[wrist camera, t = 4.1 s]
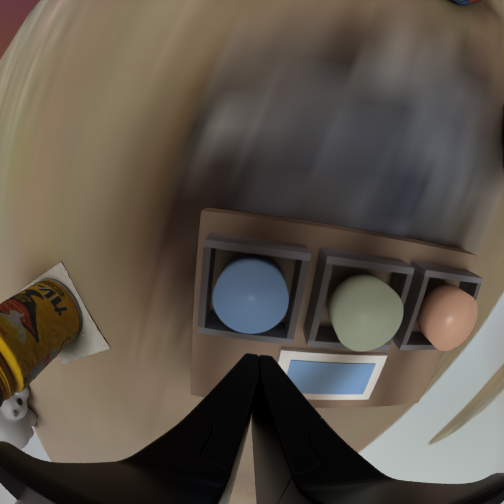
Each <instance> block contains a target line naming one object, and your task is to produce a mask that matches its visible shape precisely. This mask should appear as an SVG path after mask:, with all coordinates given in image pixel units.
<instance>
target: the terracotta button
mask: <svg viewBox="0 0 504 504" xmlns="http://www.w3.org/2000/svg"><path fill="white" fill-rule="evenodd" d="M477 315H478V307H477V303H476V301H475V299H474V298H473V297H472V296H470V295H469V294H467V293H466V292H464V291H463V290H461V289H460V288H458V287H457V286H455V285H453V284H443V285H440V286H438V287H436V288H435V289H434V290H432V291H431V292H430V293H429V294H428V295H427V297H426V298H425V300H424V301H423V303H422V305H421V307H420V310H419V313H418V327H419V329H420V331H421V332H422V333H423V334H424V335H425V337H426V338H427V339H428V340H429V341H430V342H431V343H432V344H433V345H434V347H435V348H437V349H438V350H441V351H448V350H451V349H454V348H456V347H457V346H459V345H460V344H461V343H462V342H463V341H464V340H465V339H466V338H467V337H468V336H469V334H470V333H471V331H472V329H473V328H474V325H475V323H476V320H477Z"/></svg>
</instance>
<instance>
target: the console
mask: <svg viewBox="0 0 504 504" xmlns="http://www.w3.org/2000/svg"><path fill="white" fill-rule="evenodd" d="M247 254H256V255H261V256H264V257H267V258H269V259H270V260H272V261H273V262H274V263H276V264H277V265H278V267H279V268H280V269H281V271H282V273H283V275H284V278H285V281H286V286H287V290H288V296H289V303H288V308H287V311H286V314H285V315H284V317H283V319H282V320H281V321H280V322H279V323H278V324H277V325H276V326H274V327H273V328H271V329H269V330H267V331H265V332H261V333H256V334H247V333H241V332H238V331H235V330H233V329H231V328H230V327H228V326H227V325H225V324H224V323H223V322H222V321H221V320H220V318H219V317H218V315H217V314H216V312H215V309H214V306H213V291H214V288H215V285H216V283H217V280H218V278H219V276H220V273H221V271H222V270H223V268H224V267H225V266H226V265H227V264H228V263H229V262H230V261H231V260H233V259H234V258H236V257H239V256H242V255H247ZM476 257H477V255H475V254H472V253H470V252H468V251H466V250H463V249H460V248H455V247H450V246H446V245H441V244H436V243H431V242H426V241H421V240H416V239H411V238H405V237H400V236H395V235H389V234H384V233H378V232H373V231H367V230H361V229H356V228H350V227H344V226H338V225H331V224H325V223H319V222H312V221H306V220H299V219H292V218H286V217H279V216H271V215H264V214H257V213H249V212H242V211H234V210H226V209H218V208H209V207H207V208H205V209H203V210H202V211H201V217H200V227H199V238H198V250H197V262H196V276H195V291H194V308H193V328H192V354H191V395H196V396H202V397H206V396H207V395H208V394H209V392H210V391H211V390H212V389H213V388H214V387H215V386H216V385H217V384H218V383H219V382H220V381H221V380H222V379H223V378H224V376H225V375H226V374H227V373H228V372H229V371H230V370H231V369H232V368H233V367H234V365H235V364H236V363H237V362H238V361H239V360H240V359H241V358H242V357H243V355H244V354H245V353H251V354H257V355H258V356H259V355H269V356H272V357H273V358H274V359H275V360H276V362H277V363H278V364H279V365H280V367H281V368H282V369H283V370H284V372H285V373H286V374H287V375H288V377H289V378H290V379H291V380H292V382H293V383H294V384H295V385H296V387H297V388H298V389H299V390H300V391H301V393H302V394H303V395H304V396H305V398H306V399H307V400H308V401H309V402H310V404H311V405H312V406H313V407H314V408H355V407H377V406H391V405H402V404H412V403H418V402H419V400H420V398H421V396H422V395H423V393H424V391H425V389H426V387H427V385H428V383H429V381H430V379H431V378H432V376H433V374H434V372H435V370H436V367H437V365H438V363H439V361H440V359H441V357H442V355H443V352H444V351H441V350H438V349H437V348H435V347H434V345H433V344H432V343H431V342H430V341H429V340H428V339H427V338H426V337H425V335H424V334H423V333H422V332H421V331H420V329H419V327H418V313H419V310H420V307H421V305H422V303H423V301H424V300H425V298H426V297H427V295H428V294H429V293H430V292H431V291H432V290H434V289H435V288H436V287H438V286H440V285H443V284H453V285H455V286H457V287H458V288H460V289H461V290H463V291H464V292H466V293H467V294H469V295H470V296H472V297H473V298H474V299H475V301H476V298H477V295H478V292H479V289H480V286H481V282H482V279H483V278H481V277H479V276H478V275H476V274H474V273H472V272H473V268H474V265H475V261H476ZM361 273H369V274H373V275H376V276H378V277H379V278H381V279H382V280H383V281H384V282H385V283H386V284H387V285H388V286H390V287H391V288H392V289H393V290H394V291H395V292H396V293H397V294H398V295H399V297H400V299H401V301H402V304H403V318H402V322H401V324H400V327H399V329H398V330H397V332H396V333H395V335H394V336H393V337H392V338H391V339H390V340H389V341H388V342H386V343H385V344H384V345H382V346H380V347H378V348H376V349H373V350H370V351H354V350H351V349H349V348H347V347H346V346H344V345H343V344H342V343H341V342H340V340H339V338H338V336H337V334H336V332H335V329H334V327H333V325H332V323H331V321H330V318H329V315H328V304H329V300H330V297H331V295H332V293H333V291H334V290H335V289H336V287H337V286H338V285H339V284H340V283H341V282H342V281H344V280H345V279H347V278H348V277H350V276H353V275H356V274H361ZM457 347H458V346H457ZM457 347H456V348H454V349H457Z"/></svg>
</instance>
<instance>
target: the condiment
mask: <svg viewBox="0 0 504 504" xmlns="http://www.w3.org/2000/svg"><path fill="white" fill-rule="evenodd" d="M82 330H84V332H83V331H82ZM83 333H84V336H83ZM108 349H110V347H109V345H108V344H107V343H106V341H105V340H104V338H103V336H102V334H101V333H100V332H99V331H98V329H97V327H96V325H95V323H94V322H93V320H92V319H91V317H90V315H89V313H88V311H87V309H86V307H85V305H84V303H83V302H82V300H81V298H80V296H79V295H78V293H77V291H76V289H75V287H74V285H73V283H72V281H71V279H70V278H69V276H68V273H67V271H66V269H65V268H64V266H63V264H62V263H61V262H60V263H58V264H57V265H55V266H54V267H53V268H51V269H50V270H48V271H47V272H45V273H44V274H43V275H41V276H40V277H38V278H37V279H35V280H34V281H33V282H31V283H30V284H28V285H27V286H26V287H24V288H23V289H22V290H21V292H20V293H18V294H16V295H14V296H12V297H11V298H9V299H7V300H5V301H4V302H2V303H1V304H0V407H1V406H2V404H3V402H4V401H5V400H8V399H9V398H10V397H11V396H12V395H13V394H14V393H20V392H22V391H23V390H24V389H25V388H26V387H27V386H28V385H29V384H30V383H31V382H32V380H34V379H35V378H36V377H37V375H38V374H39V373H40V372H41V371H42V370H43V369H44V368H45V367H46V366H47V365H48V364H49V363H50V362H51V361H52V360H53V359H54V358H55V357H56V356H58V357H59V358H60V360H61V361H62V363H63V364H66V363H68V362H71V361H74V360H77V359H79V358H82V357H86V356H88V355H92V354H95V353H98V352H101V351H105V350H108Z"/></svg>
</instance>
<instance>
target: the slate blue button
mask: <svg viewBox="0 0 504 504" xmlns="http://www.w3.org/2000/svg"><path fill="white" fill-rule="evenodd" d="M288 303H289V296H288V290H287V286H286V281H285V278H284V275H283V273H282V271H281V269H280V268H279V267H278V265H277V264H276V263H274V262H273V261H272V260H270V259H269V258H267V257H264V256H261V255H256V254H247V255H242V256H239V257H236V258H234V259H233V260H231V261H230V262H229V263H228V264H227V265H226V266H225V267H224V268H223V270H222V271H221V273H220V276H219V278H218V280H217V283H216V285H215V288H214V291H213V306H214V309H215V312H216V314H217V315H218V317H219V318H220V320H221V321H222V322H223V323H224V324H225V325H227V326H228V327H230V328H231V329H233V330H235V331H238V332H241V333H247V334H256V333H261V332H265V331H267V330H269V329H271V328H273V327H274V326H276V325H277V324H278V323H279V322H280V321H281V320H282V319H283V317H284V315H285V314H286V311H287V308H288Z"/></svg>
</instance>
